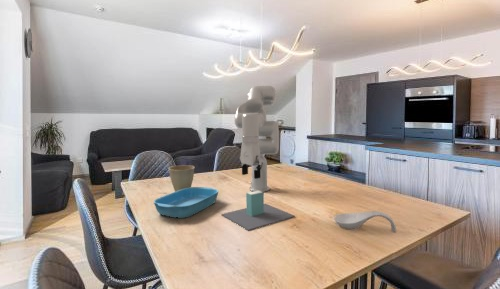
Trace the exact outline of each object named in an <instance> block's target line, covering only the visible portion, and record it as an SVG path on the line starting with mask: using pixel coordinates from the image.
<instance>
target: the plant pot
mask: <svg viewBox="0 0 500 289" xmlns="http://www.w3.org/2000/svg"><path fill="white" fill-rule="evenodd" d="M195 168H196V167H195V166H194V165H189V164H188V165H187V164H180V165H173V166H169V167H168V173H169V176H170V182H171V185H172V187H173V190H174V192H176V191H178V190H181V189H184V188H189V187H192V185H193V181H194V175H195Z"/></svg>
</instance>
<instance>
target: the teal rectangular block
mask: <svg viewBox="0 0 500 289" xmlns="http://www.w3.org/2000/svg"><path fill="white" fill-rule="evenodd" d="M245 199H246V200H245V201H246V208H247V214H248V215H250V216H255V215H259V214H263V213H264V204H265V203H264V202H265V200H264V192H261V191H250V192H246V198H245Z"/></svg>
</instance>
